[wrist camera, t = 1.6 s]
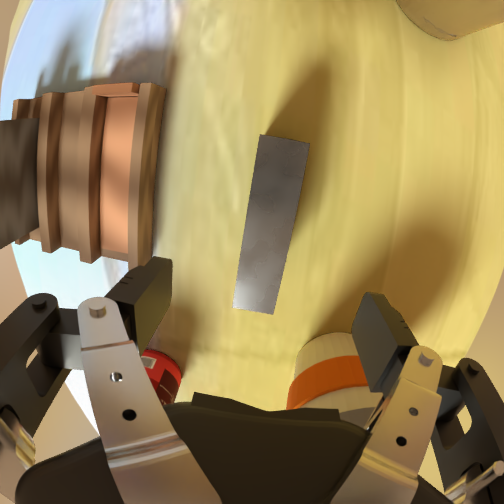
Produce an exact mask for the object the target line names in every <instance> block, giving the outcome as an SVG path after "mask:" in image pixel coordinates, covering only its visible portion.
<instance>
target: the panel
mask: <svg viewBox="0 0 504 504" xmlns="http://www.w3.org/2000/svg"><path fill="white" fill-rule="evenodd" d="M309 146H310V144H309V143H305V142H300V141H295V140H290V139H284V138H279V137H273V136H268V135H261V134H260V136H259V142H258V148H257V154H256V160H255V166H254V172H253V178H252V185H251V191H250V197H249V203H248V209H247V215H246V222H245V228H244V234H243V241H242V247H241V253H240V260H239V266H238V273H237V279H236V286H235V292H234V299H233V306H232V308H238V309H244V310H249V311H255V312H261V313H267V314H273V313H274V309H275V305H276V300H277V296H278V292H279V288H280V284H281V279H282V275H283V271H284V266H285V262H286V258H287V253H288V249H289V244H290V240H291V235H292V230H293V226H294V221H295V216H296V212H297V207H298V202H299V197H300V192H301V187H302V182H303V177H304V172H305V167H306V162H307V157H308V151H309Z"/></svg>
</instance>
